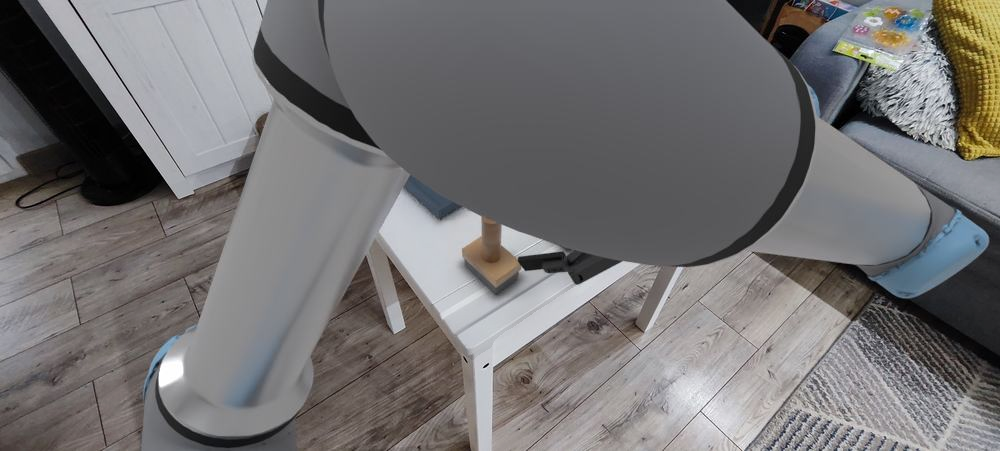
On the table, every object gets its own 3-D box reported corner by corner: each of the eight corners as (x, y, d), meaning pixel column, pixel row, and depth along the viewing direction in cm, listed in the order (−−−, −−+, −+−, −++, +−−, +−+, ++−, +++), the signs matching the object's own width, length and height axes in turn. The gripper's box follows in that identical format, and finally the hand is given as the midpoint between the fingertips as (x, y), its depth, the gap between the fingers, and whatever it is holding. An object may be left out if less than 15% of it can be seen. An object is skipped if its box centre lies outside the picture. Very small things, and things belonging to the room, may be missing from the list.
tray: (439, 219, 84) (438, 211, 82) (392, 177, 92) (390, 168, 90) (533, 163, 95) (534, 154, 94) (484, 129, 103) (484, 120, 101)
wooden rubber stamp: (520, 278, 76) (525, 223, 65) (495, 296, 73) (497, 242, 63) (486, 249, 80) (486, 192, 70) (462, 265, 77) (459, 209, 67)
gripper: (693, 303, 54) (527, 313, 63) (677, 150, 68) (543, 176, 77) (684, 271, 48) (504, 287, 57) (669, 113, 62) (526, 146, 71)
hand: (526, 224), depth 67 cm, fingers open, 13 cm apart
